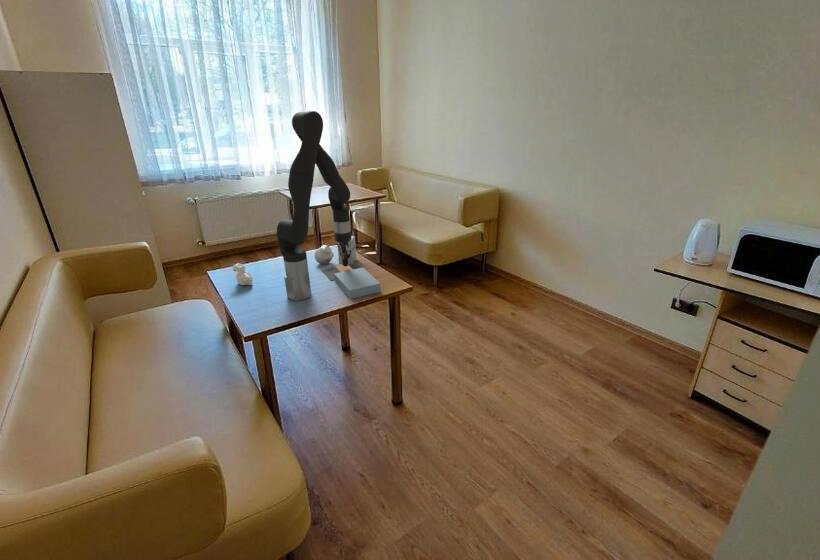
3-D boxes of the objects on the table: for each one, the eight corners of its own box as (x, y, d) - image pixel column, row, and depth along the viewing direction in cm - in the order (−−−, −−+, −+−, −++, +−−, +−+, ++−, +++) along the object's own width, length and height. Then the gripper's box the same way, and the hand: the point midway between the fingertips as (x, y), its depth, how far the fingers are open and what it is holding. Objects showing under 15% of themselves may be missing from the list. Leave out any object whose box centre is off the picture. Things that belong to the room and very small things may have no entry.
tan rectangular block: (353, 275, 194) (353, 269, 193) (341, 278, 191) (340, 272, 190) (347, 269, 201) (346, 263, 200) (335, 271, 199) (334, 265, 197)
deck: (380, 291, 178) (380, 283, 177) (350, 298, 173) (349, 290, 171) (363, 275, 195) (362, 267, 193) (334, 281, 189) (334, 273, 187)
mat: (365, 273, 196) (365, 273, 196) (330, 281, 189) (330, 280, 189) (354, 263, 208) (354, 263, 208) (321, 270, 201) (321, 270, 200)
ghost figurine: (322, 269, 202) (320, 250, 198) (312, 263, 209) (310, 245, 205) (337, 264, 208) (336, 245, 204) (327, 259, 214) (325, 241, 210)
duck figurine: (241, 283, 193) (222, 269, 186) (253, 271, 195) (234, 257, 187) (249, 292, 185) (229, 278, 177) (261, 279, 186) (241, 265, 178)
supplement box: (352, 264, 207) (351, 240, 202) (338, 263, 209) (336, 239, 203) (356, 258, 214) (355, 235, 209) (343, 258, 215) (341, 235, 210)
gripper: (355, 232, 182) (358, 268, 189) (345, 225, 192) (348, 259, 200) (339, 235, 179) (342, 272, 186) (329, 227, 189) (333, 262, 197)
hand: (345, 265), depth 193 cm, fingers closed
